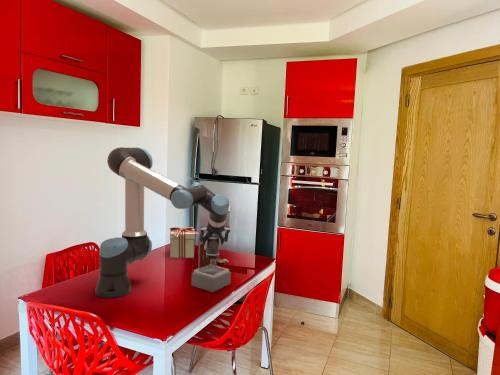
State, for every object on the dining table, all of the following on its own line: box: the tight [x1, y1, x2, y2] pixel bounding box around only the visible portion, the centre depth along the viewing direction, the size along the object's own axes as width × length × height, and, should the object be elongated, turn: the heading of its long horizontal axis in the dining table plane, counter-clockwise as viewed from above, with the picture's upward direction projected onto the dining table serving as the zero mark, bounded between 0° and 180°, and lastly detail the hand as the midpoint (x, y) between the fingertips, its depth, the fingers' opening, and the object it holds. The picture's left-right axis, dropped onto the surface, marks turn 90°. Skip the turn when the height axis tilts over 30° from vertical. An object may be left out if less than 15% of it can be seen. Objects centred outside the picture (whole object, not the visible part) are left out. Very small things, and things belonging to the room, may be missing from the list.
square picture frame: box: [193, 264, 230, 279], centre depth 181 cm, size 12×12×2 cm
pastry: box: [216, 257, 229, 266], centre depth 218 cm, size 7×12×4 cm, turn 133°
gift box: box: [169, 226, 200, 259], centre depth 228 cm, size 17×18×17 cm
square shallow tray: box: [190, 268, 232, 293], centre depth 182 cm, size 14×13×6 cm
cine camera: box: [197, 232, 217, 269], centre depth 203 cm, size 9×19×20 cm, turn 174°
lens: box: [206, 234, 220, 259], centre depth 180 cm, size 6×6×12 cm
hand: (211, 247), depth 184 cm, fingers closed on lens, 6 cm apart
